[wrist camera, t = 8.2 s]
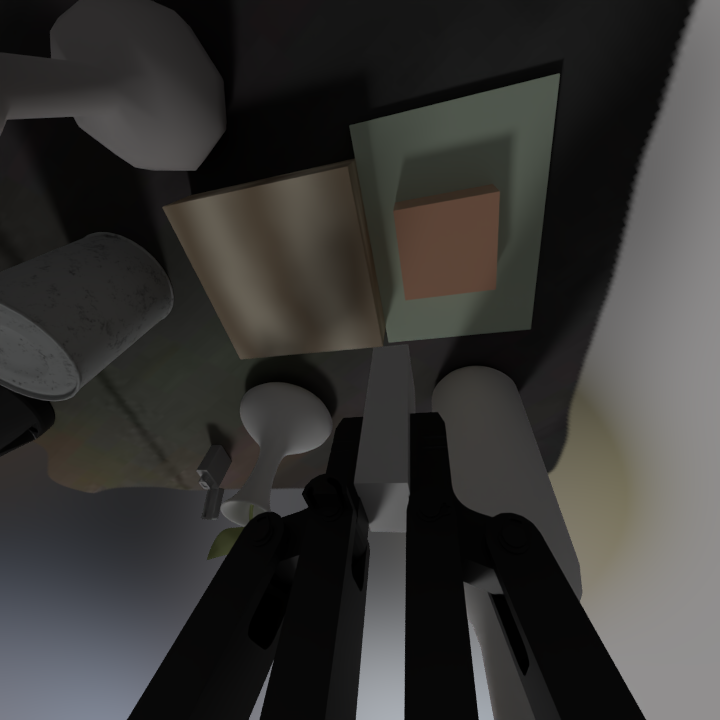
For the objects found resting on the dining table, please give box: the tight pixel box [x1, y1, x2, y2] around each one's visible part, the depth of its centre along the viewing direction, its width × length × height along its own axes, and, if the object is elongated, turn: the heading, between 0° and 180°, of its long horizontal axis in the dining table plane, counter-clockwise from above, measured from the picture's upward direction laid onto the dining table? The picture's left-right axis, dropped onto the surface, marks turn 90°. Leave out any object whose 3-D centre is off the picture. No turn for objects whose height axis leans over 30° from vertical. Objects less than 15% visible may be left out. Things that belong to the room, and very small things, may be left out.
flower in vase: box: [207, 382, 332, 560], centre depth 32 cm, size 13×11×25 cm
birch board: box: [163, 158, 386, 359], centre depth 28 cm, size 14×14×4 cm
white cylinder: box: [0, 232, 174, 401], centre depth 29 cm, size 10×10×12 cm
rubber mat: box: [349, 73, 560, 342], centre depth 27 cm, size 13×18×1 cm
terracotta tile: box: [393, 184, 500, 300], centre depth 25 cm, size 7×7×2 cm
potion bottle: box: [0, 0, 227, 171], centre depth 16 cm, size 9×9×18 cm
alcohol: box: [432, 366, 582, 720], centre depth 25 cm, size 9×9×30 cm
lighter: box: [196, 445, 232, 520], centre depth 48 cm, size 7×2×8 cm, turn 10°
